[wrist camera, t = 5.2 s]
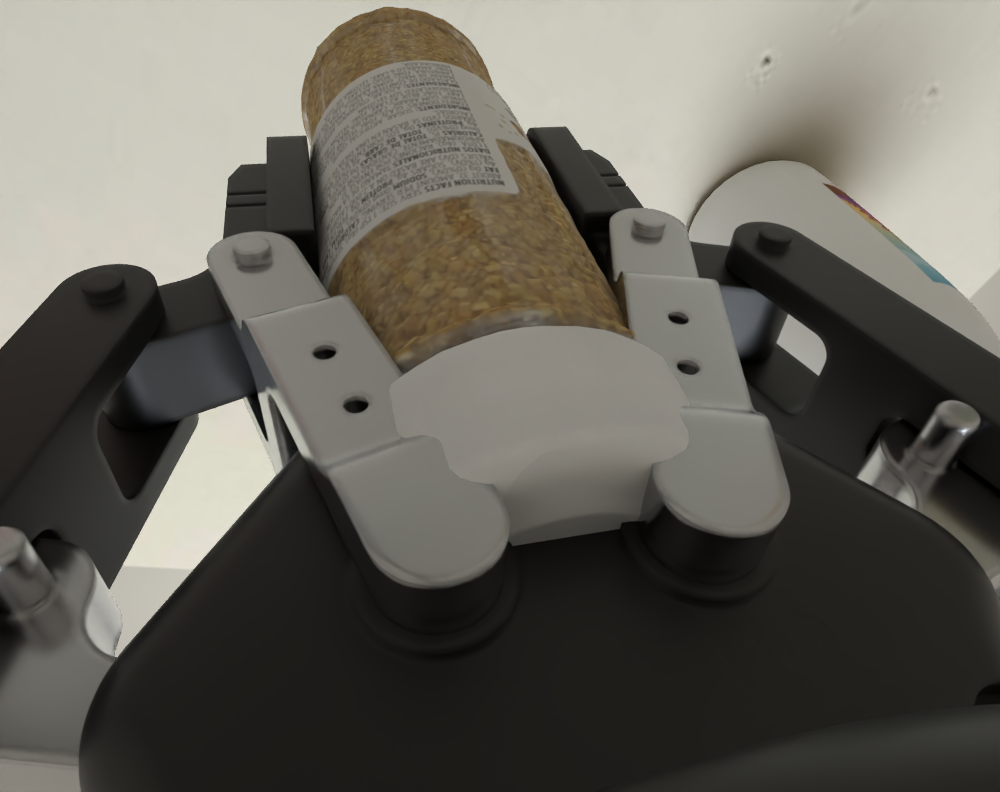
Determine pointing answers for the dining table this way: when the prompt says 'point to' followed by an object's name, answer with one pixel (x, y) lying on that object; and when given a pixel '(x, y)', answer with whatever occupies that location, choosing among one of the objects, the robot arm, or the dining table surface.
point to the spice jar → (479, 280)
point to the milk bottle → (833, 246)
